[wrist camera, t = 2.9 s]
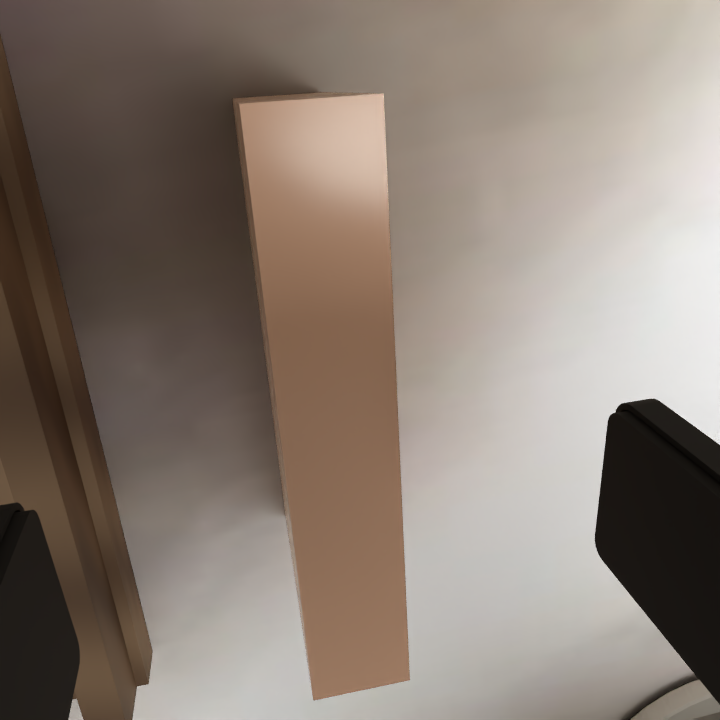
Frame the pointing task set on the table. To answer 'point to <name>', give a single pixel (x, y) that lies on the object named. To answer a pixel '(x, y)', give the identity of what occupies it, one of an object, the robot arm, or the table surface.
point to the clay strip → (331, 371)
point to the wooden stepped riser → (60, 441)
